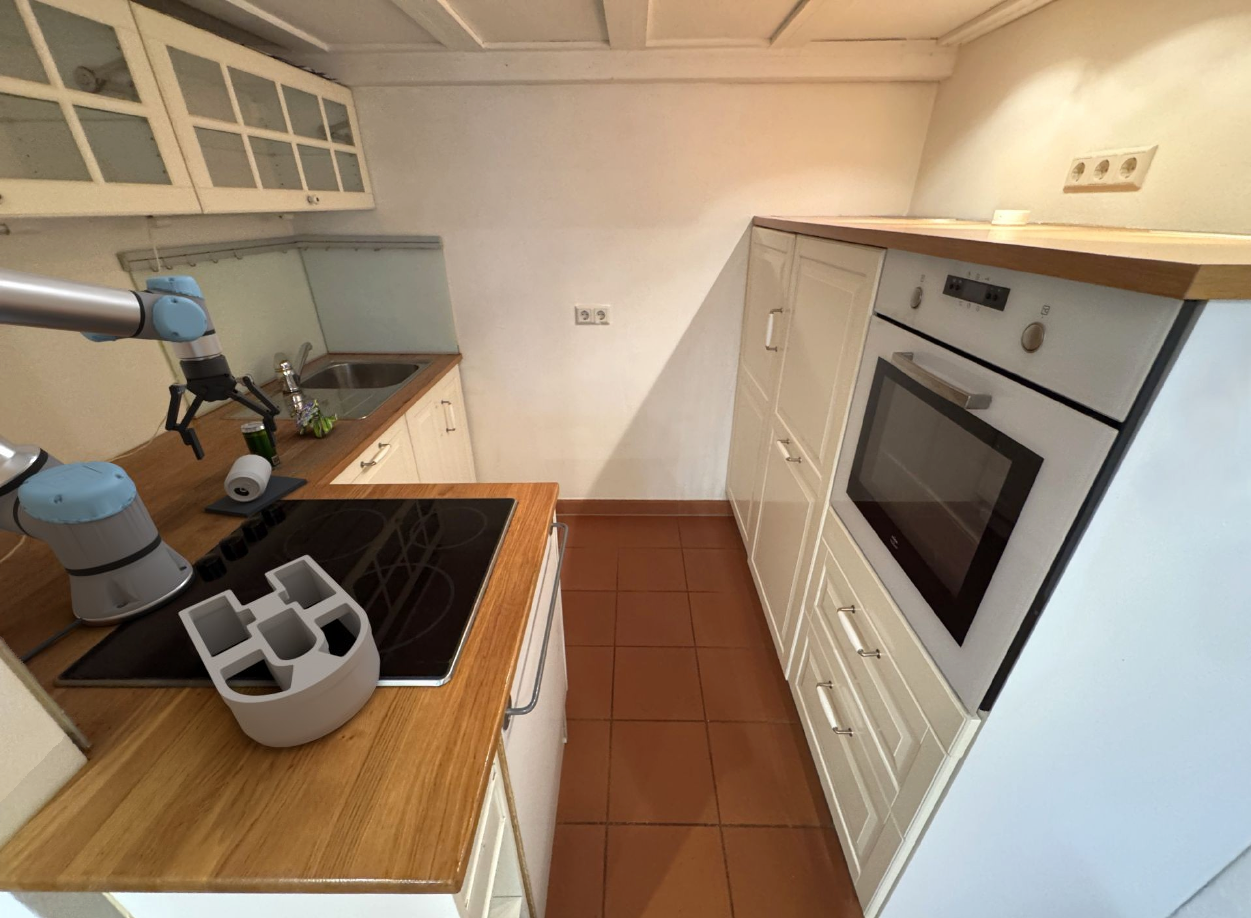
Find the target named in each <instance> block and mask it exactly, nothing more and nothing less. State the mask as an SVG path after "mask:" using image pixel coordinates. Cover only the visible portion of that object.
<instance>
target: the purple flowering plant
mask: <svg viewBox="0 0 1251 918" xmlns="http://www.w3.org/2000/svg"><path fill="white" fill-rule="evenodd" d="M299 407H300V405H298V404H297V405H296V406H294V409H292V412H291V414H290V418H294V416H295V415H296V414H298V417H297V418H296V420H295V423H296V424H295V425H296V428H297V429H298V430H300V433H299V434H300V435H302V436H303V435H305V434H306V430H307V427H308V426H309V427H310V428H311V429H313V430H314V433H315V436H316V437H318V438H323V436H322V430H323V431H324V434H325V435H328V433H329V432H330V431H331V430H332V429H334V427H333V422H335V423H336V422H339V419H338V414H337V413H333V414H331V415H326V416H325V414H324V412H323V411H322V409H321V406H320V405H319V404H318V401H317V398H315V399H313V401H312V402H311V401H310V402H308V403H307V404H305V406H303V407H301V412H300V411H298V409H299ZM333 416H334V417H333Z"/></svg>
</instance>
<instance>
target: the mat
mask: <svg viewBox="0 0 1251 918" xmlns="http://www.w3.org/2000/svg"><path fill="white" fill-rule="evenodd" d="M307 483H308V481H307V479H306V478H299V477H292V476H282V475H273V474H271V475H270V478H269V480H268V483H267V486H266V489H265V491H264V493H263V494H262V495H261V496H260V497H259V498H257V499H255V500H251V501H247V502H241V501H237V500H234V499H233V498H231V497H230V496H229V495H228V494H227V495H225V496H223V497H221V498H220V499H218V500H216V501H213V502H212V503H210V504H208V505H206V506H204V507H203V509H204V512H206V513H212V514H220V515H227V516H235V517H243V518H249V517H251V516H253V515H255V514H256V513H258V512H260V511H261V510H263V509H265V508H267V507H268V506H270V505H272V504H274V503H275V502H278V500H280V499H282V498H284V497H286V496H287V495H289V494H290V493H292V492H294V491H295V490H297V489H299V488H300V487H302V486H304V485H305V484H307Z"/></svg>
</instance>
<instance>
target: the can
mask: <svg viewBox="0 0 1251 918" xmlns="http://www.w3.org/2000/svg"><path fill="white" fill-rule="evenodd" d="M270 475H272V470H271V465H270V463H269V462H268V461H267V460H266V459H264V458H263V457H261V456H257V455H251V454H246V455H242V456H240V457H238V458H237V459H236V460H235V461H234V463H233V465H232V466H231V468H230V470H229V472H228V473H227V476H226V478H225V479H224V482H223V489H224V492H225V493H226V494H227V495H229V496H230V497H231V498H233V499H234V500H237V501H241V502H247V501H251V500H255V499H257V498H259V497H260V496H261V495H262V494H263V493H264V491H265V489H266V486H267V483H268V480H269V478H270Z"/></svg>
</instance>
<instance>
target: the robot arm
mask: <svg viewBox="0 0 1251 918" xmlns="http://www.w3.org/2000/svg"><path fill="white" fill-rule="evenodd" d="M145 285H146V287H145V288H146V289H143V290H139V291H138V290H131V289H127V288H122V287H117V286H110V285H106V284H99V283H93V282H88V281H82V280H76V279H71V278H65V277H58V276H53V275H48V274H42V273H36V272H30V271H24V270H18V269H14V268H13V269H12V268H7V267H1V266H0V325H6V326H15V327H17V326H18V327H27V328H36V329H47V330H56V331H66V332H75V333H80V334H81V335H82V336H83V337H84V338H86V339H87V340H88V341H91V342H93V343H105V342H116V341H118V340H125V339H134V340H135V339H136V340H148V341H151V340H152V341H160V342H162V341H163V342H170V345H171V347H172V350H173V352H174V354H175V357H176V358H177V359H180V360H179V362H178V364H179V366H180V369H181V371H182V374H183V376H184V378H185V380H186V383H179V382H173V383H171V384H170V385H169V386H168V391H169V395H170V399H169V405H168V411H167V413H166V419H165V420H166V421H165V424H164V429H165V430H166V431H168V432H171V431H172V432H173V431H175V432H178V433H179V435H180V438H181V440H182V442H183V445H185V446H186V447H188V446H190V447H191V449H192V451H193V454H194V456H195V458H196V461H202V460H203V459H204V457H205V456H206V454H205V451H204V449H203V446H202V444H201V442H200V440H199V437H198V435H197V433H196V430H195V428H194V427H189V426H190V424H191V423H192V421H193V419H194V417H195V415H196V414H197V412H198V411H199V409H200V407H201V405H202V404H203V403H204V402H207V403H214V402H217V401H221V402H223V401H224V402H225V401H227V400H228V399H230V400H233V401H235V402H238V403H239V404H241V405H242V406H244V407H246V408H248V409H249V410H251V411H252V412H254V413H256V414H258V415H259V416H261V417H263V418H262V419H261V421H262V422H263V425H264V427H265V430H266V433H267V436H268V438H269V441H270V444H271V447H272V448H273V447H275V448H276V447H277V445H278V441H277V437H276V434H275V432H277V431H278V425H277V421H276V419H275V416H279V415H280V414H281V412H282V407H280V406H279V404H278V403H277V402H276V401H274V400H273V398H272V397H270V396H269V395H268V394H267V393H266V392H265V391H264V390H263V389H262V388H261V387H260V386H259V385H258V384H257V383H255V380H254V378H253V376H252V375H251V374H250V373H245V374H244V375H242V376H237V377H235V376H234V375H233V373H232V371H231V368H230V366H229V363H228V360H227V358H226V356H225V355H224V354H223V351H224V350H223V347H222V344H221V342H220V339H219V337H218V334H217V331H216V329H215V326H214V323H213V320H212V317H211V315H210V312H209V310H208V306H207V303H206V301H205V300H206V299H205V297H204V295H203V292H202V291H201V289H200V287H199V285H198V283H197V281H196V279H195V278H194V277H192V276H189V275H165V276H155V277H148V278H146V280H145ZM238 384H240V385H241V386H242V387H246V389H247V390H248V391H249V392H250V393H251V394H252V395H254V396H255V398H257V399H258V400H259V401H260V403H259V402H257V401H256V400H254V399H253V398H250V397H249V396H247V395H246V394H244V393H243V392H242V391H240V390H238V389H237V388H236V387H237V385H238ZM186 391H188V392H190V393H191V394H193V395H194V396H195V397H194V398H193V400H192V402H191V404H190V406H189V408H188V409H187V411H186V412H185V414H184V416H183V418H182V419H181V421H180V422H178V417H179V413H180V408H181V404H182V403H181V402H182V398H183V395H184V394H185V393H186ZM261 403H262V404H263V405H262V404H261ZM0 529H1V530H2V531H3V530H4V531H6V532H11V533H15V534H16V533H17V534H20V535H23V536H26V537H29V538H32V539H36V540H37V541H41V542H44V543H46V544H47V545H48V546H49V547H50V549H51V550H52V552H53V553H54V555H55V557H56V558H57V559H58V561H59V562H60V564H61V566H62V567H63V569H64V570H65V571H66V573H67V575H68V576H69V582H70V583H69V584H70V595H71V607H72V612H73V614H74V615H75V617H76V618H77V619H76V620H75V621H73V622H72V623H70V624H68V625H67V626H66V627H64V628H62V629H61V630H60V631H58V632H56V633H55V634H53V635H52V636H50V637H49V638H47V639H46V640H44V641H42V642H41V643H40V644H39V645H37V646H35V647H34V648H33V649H31V650H30V651H28V652H27V653H25V654H24V655H23V656H21V657H19V658H18V659H21V661H23V663H25V662H26V661H28V660H29V659H30V658H32V657H33V656H35V655H37V654H38V653H40V652H41V651H43V650H44V649H45V648H47V647H49V645H51V644H52V643H54V642H55V641H57V640H59V639H60V638H62V637H63V636H64V635H66V634H67V633H69V632H70V631H72V630H74V629H75V628H76V627H78V626H79V625H81V624H82V625H85V626H89V627H105V626H111V625H112V626H113V625H118V624H122V623H125V622H128V621H129V622H130V621H133V620H135V619H139V618H141V617H143V616H145V615H148V614H150V613H153V612H154V611H156V610H159V609H160V608H162V607H164V606H166V605H168V604H169V603H171V602H172V601H174V600H176V599H177V598H179V596H181V595H182V594H183V593H184V592H186V591H187V590H188V589H189V588H190V587H191V585H192V584H193V582H194V581H195V579H196V572H195V570H194V568H193V566H192V564H191V563H190V562H189V561H188V560H187V559H186V558H185V557H183V556H182V555H181V554H180V553H178V552H177V550H174V548H172V547H171V546H170V545H169V544H167V543H166V542H165V541H164V540H163V538H162V537H161V535H160V532H159V531H158V529H157V526H156V524H155V523H154V522H153V519H152V517H151V516H150V513H149V512H148V510H147V508H146V506H145V504H144V502H143V500H142V498H141V496H140V495H139V492H138V490H137V487H136V484H135V482H134V480H132V479H131V477H129V475H128V474H127V472H126V471H125V470H124V469H123V467H121V466H119V465H118V464H115V463H112V462H108V461H99V460H98V461H97V460H90V461H88V462H84V461H76V462H71V463H64V462H62V461H61V460H60V459H58V458H57V457H55V456H53V455H52V454H51V453H49V452H48V451H46V450H44V449H43V448H42V447H40V446H38V445H37V444H36V443H23V442H22V443H16V442H13V441H11V440H10V439H8V438H7V437H5V436H4V435H2V434H0Z"/></svg>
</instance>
